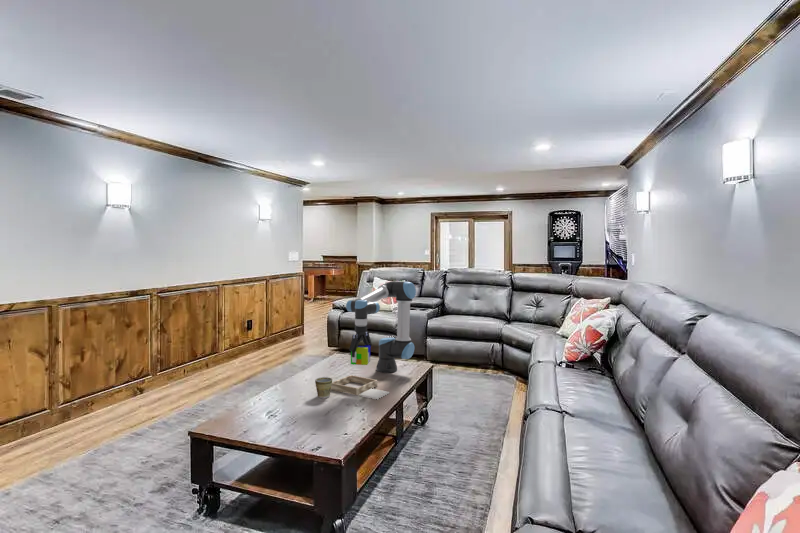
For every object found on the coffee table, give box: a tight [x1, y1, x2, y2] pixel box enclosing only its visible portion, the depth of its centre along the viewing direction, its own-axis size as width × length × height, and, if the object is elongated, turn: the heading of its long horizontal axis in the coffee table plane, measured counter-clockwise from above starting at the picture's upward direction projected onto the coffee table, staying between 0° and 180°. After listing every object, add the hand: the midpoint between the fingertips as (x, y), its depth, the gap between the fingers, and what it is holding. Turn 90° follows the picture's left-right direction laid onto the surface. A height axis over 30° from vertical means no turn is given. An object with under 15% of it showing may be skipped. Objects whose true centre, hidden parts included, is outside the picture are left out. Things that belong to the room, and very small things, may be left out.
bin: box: [331, 374, 378, 396], centre depth 271 cm, size 21×21×4 cm
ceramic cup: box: [314, 376, 333, 399], centre depth 256 cm, size 13×10×10 cm
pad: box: [358, 388, 390, 400], centre depth 258 cm, size 13×13×1 cm
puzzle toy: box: [350, 344, 371, 366], centre depth 266 cm, size 10×10×10 cm
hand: (360, 360), depth 266 cm, fingers closed on puzzle toy, 12 cm apart
